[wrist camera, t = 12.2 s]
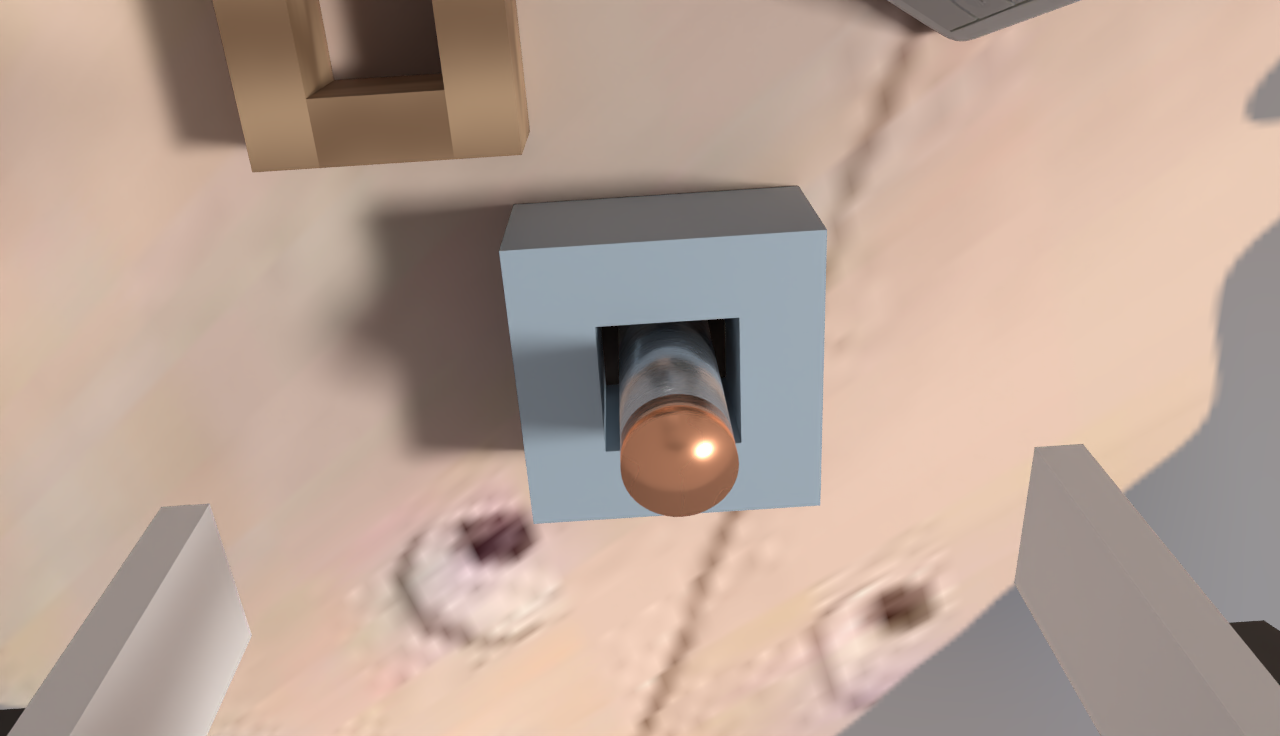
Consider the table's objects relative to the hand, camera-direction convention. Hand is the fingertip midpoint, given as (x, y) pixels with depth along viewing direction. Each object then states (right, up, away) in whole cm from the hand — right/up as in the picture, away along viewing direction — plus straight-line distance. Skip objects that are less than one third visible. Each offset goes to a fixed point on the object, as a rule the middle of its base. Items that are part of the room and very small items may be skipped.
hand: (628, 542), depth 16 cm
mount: (-10, +17, +22) cm, 29 cm away
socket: (+1, +5, +28) cm, 28 cm away
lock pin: (+1, +5, +28) cm, 28 cm away
